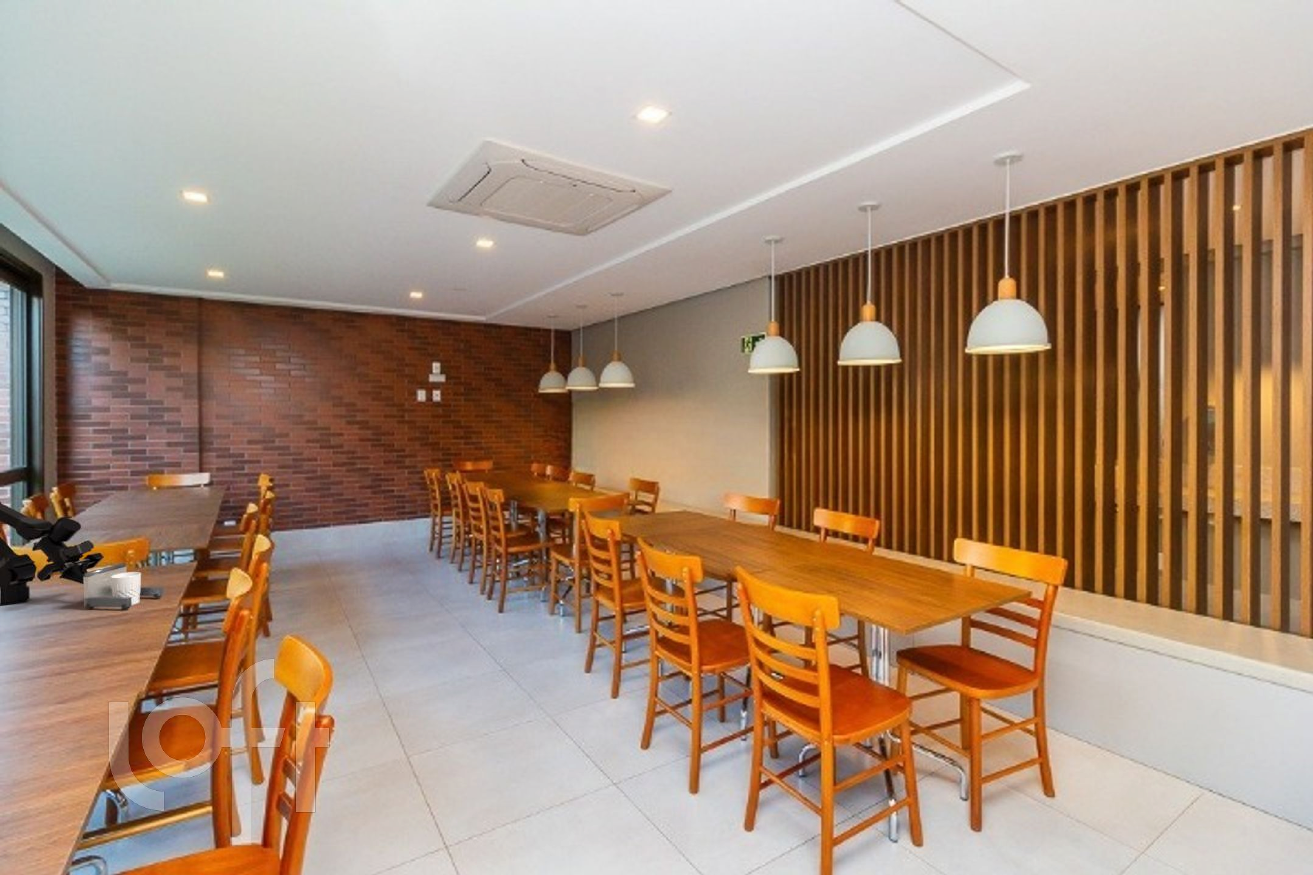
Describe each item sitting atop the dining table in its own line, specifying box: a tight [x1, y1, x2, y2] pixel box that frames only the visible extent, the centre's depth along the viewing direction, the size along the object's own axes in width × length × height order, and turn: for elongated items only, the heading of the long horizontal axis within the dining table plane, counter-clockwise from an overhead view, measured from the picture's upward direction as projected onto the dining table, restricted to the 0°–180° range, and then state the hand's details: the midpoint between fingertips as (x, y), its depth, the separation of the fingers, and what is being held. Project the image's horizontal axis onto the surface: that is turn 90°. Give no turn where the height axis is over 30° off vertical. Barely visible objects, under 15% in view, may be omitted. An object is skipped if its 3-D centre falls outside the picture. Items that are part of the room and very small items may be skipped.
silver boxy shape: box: [83, 562, 164, 611], centre depth 211 cm, size 15×15×12 cm
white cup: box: [111, 571, 142, 606], centre depth 211 cm, size 8×8×10 cm
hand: (88, 584), depth 211 cm, fingers closed
